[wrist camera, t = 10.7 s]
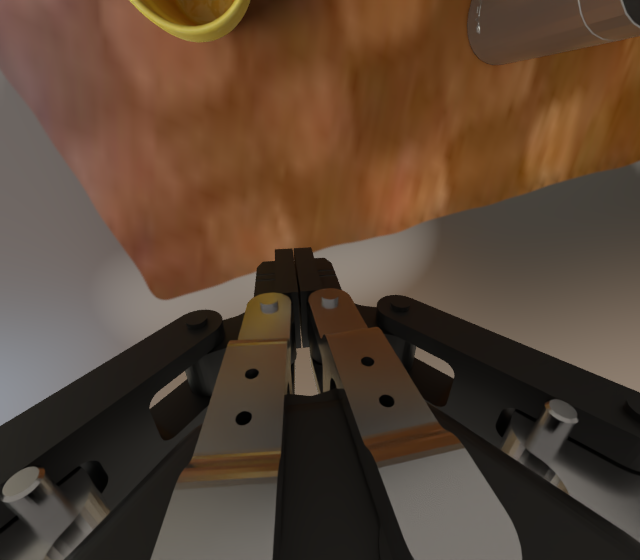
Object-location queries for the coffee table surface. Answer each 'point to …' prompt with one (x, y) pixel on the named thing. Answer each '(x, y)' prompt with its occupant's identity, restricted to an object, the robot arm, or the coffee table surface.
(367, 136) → the coffee table surface
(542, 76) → the coffee table surface
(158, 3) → the plant pot
